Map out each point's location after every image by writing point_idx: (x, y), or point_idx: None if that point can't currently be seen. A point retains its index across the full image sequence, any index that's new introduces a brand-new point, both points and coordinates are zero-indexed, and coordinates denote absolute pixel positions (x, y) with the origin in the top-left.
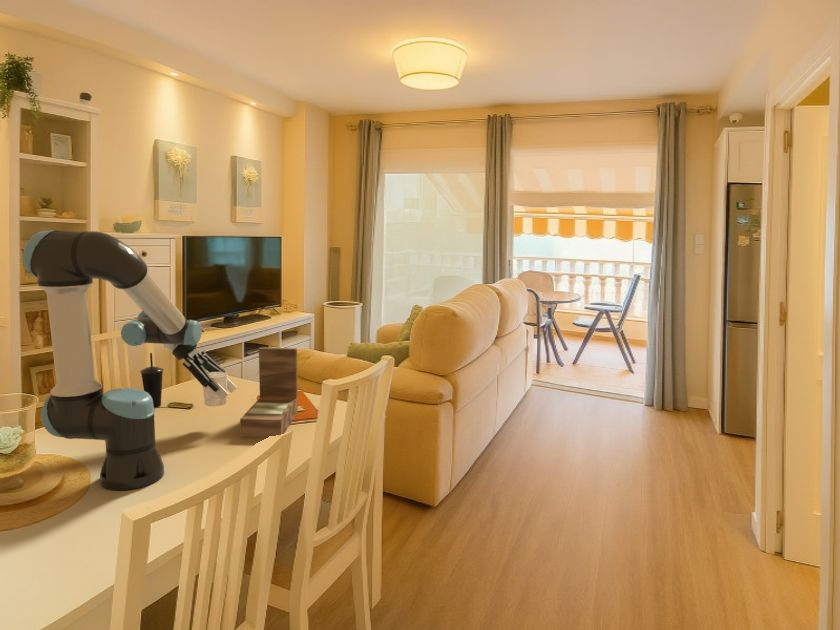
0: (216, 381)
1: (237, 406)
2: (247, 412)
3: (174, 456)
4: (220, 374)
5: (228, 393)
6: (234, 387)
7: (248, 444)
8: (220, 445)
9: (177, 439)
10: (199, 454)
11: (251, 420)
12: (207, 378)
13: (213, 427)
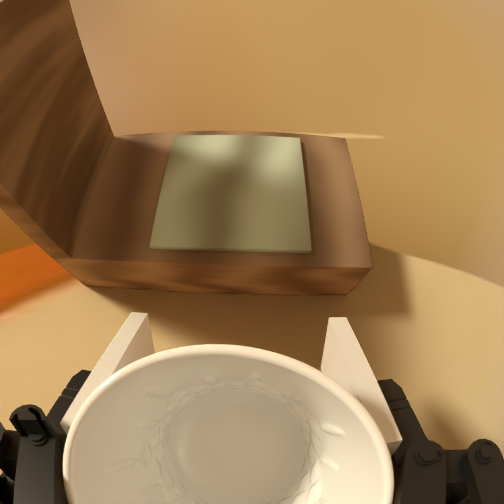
0: None
1: (24, 383)
2: (284, 260)
3: (487, 418)
4: (88, 456)
5: (333, 320)
6: (144, 330)
7: (395, 252)
8: (418, 333)
9: None
10: (473, 361)
11: (363, 225)
12: (485, 463)
13: None
